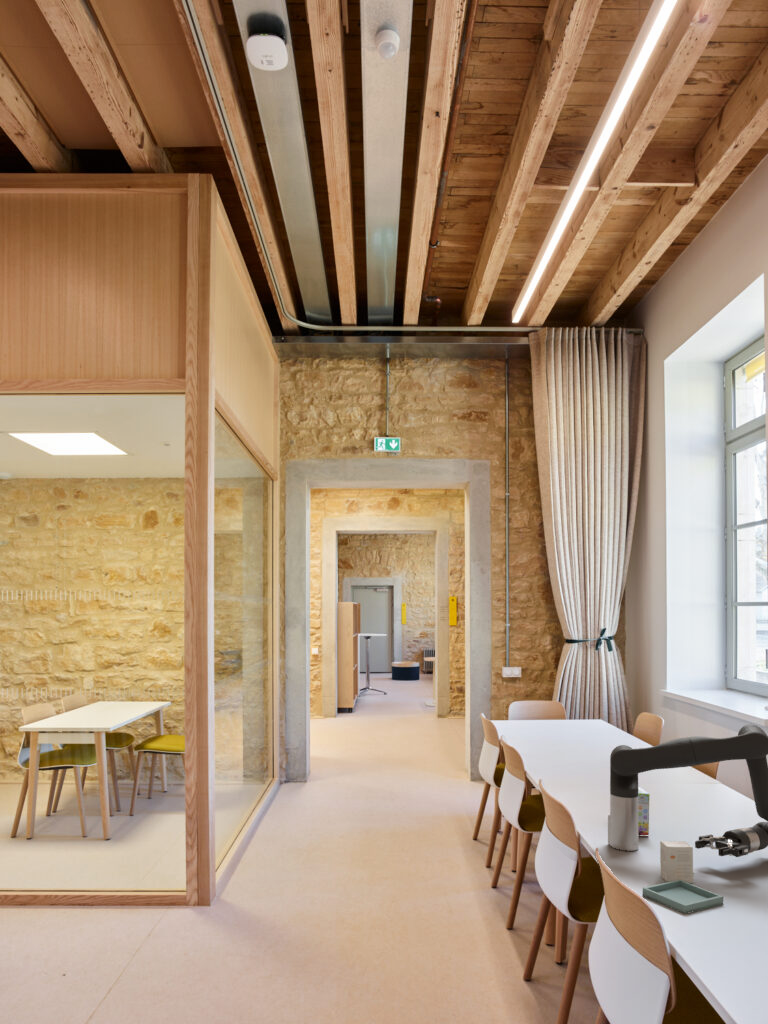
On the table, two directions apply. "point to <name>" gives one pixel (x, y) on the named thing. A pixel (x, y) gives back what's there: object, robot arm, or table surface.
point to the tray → (683, 896)
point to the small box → (676, 861)
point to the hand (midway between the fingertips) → (707, 848)
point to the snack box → (643, 812)
